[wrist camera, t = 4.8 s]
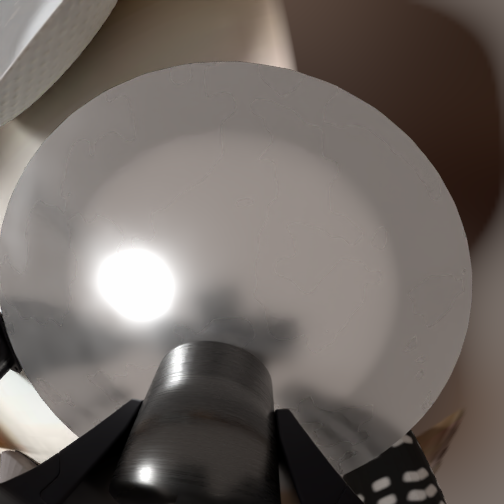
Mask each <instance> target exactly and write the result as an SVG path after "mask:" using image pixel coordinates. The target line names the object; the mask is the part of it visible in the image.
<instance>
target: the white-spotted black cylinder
mask: <svg viewBox="0 0 504 504" xmlns="http://www.w3.org/2000/svg"><path fill="white" fill-rule="evenodd" d="M341 477H342V478H343V480H344V481H345V482H346V483H347V485H349V487H350V488H351V489H352V490H353V491H354V493H355V494H356V495H357V496H358V497H359V498H360V499H361V500H362V501H363V502H364V503H365V504H447V503H446V500H445V498H444V496H443V494H442V491H441V489H440V487H439V484H438V483H437V480H436V478H435V476H434V474H433V472H432V469H431V467H430V465H429V463H428V461H427V459H426V457H425V455H424V453H423V451H422V449H421V447H420V445H419V443H418V441H417V439H416V437H415V435H414V433H413V432H412V431H411V430H409V431H408V432H407V433H406V434H405V435H404V436H403V437H402V438H401V439H400V440H398V441H397V442H396V443H395V444H393V445H392V446H391V447H390V448H388V449H387V450H386V451H384V452H383V453H381V454H380V455H378V456H377V457H375V458H374V459H372V460H371V461H369V462H367V463H366V464H364V465H362V466H360V467H358V468H356V469H354V470H352V471H350V472H348V473H346V474H344V475H342V476H341Z"/></svg>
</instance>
